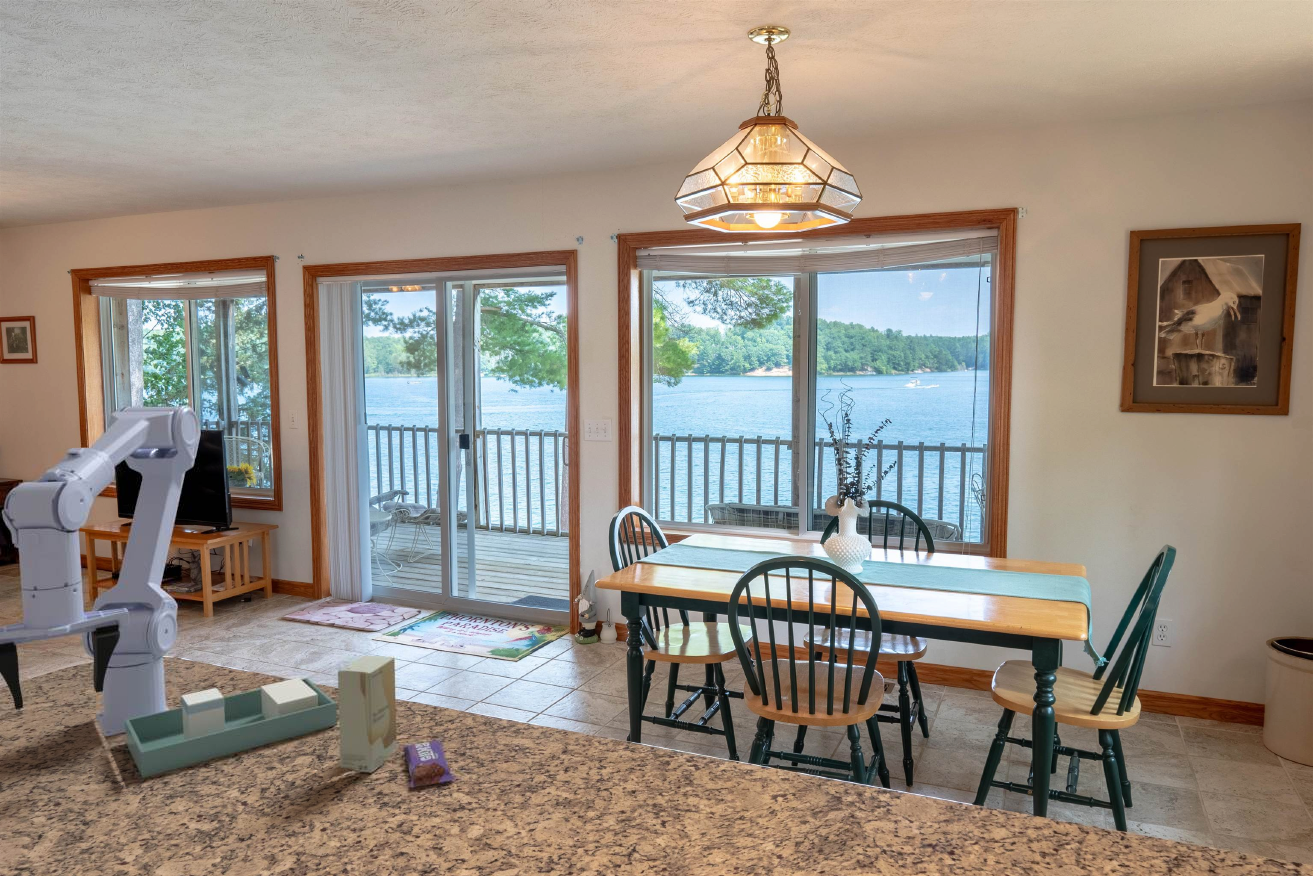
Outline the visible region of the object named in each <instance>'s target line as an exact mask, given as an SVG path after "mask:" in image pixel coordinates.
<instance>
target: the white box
mask: <svg viewBox="0 0 1313 876" xmlns="http://www.w3.org/2000/svg"><path fill="white" fill-rule="evenodd" d="M260 689H261V699H262V715H263V716H264V717H265V718H266V719H270V718H274V717H278V716H282V715H286V714H290V713H294V712H298V711H302V710H306V709H310V708H314V707H318V694H317V693H316V692H314V691H313V690H312V689H311V688H310V687H309V686H308V685H306V684H305V683H304V682H303V681H302V680H301V678H300V677H297V678H292V679H288V680H284V681H278V682H275V683H270V684H266V685H261V686H260Z"/></svg>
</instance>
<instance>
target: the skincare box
mask: <svg viewBox="0 0 1313 876" xmlns="http://www.w3.org/2000/svg"><path fill="white" fill-rule="evenodd" d="M395 662H396V661H395V657H393V656H379V655H377V656H376V655H363V656H361V657H359V658H357V659H355V660H354V661H352V662H350V663H348V664H347V665H346V666H343V668H340V669H339V670H337V681H338V682H337V685H338V687H337V689H338V692H337V693H338V720H339V721H338V722H339V725H338V726H339V727H338V728H339V729H338V730H339V731H338V732H339V757H340V758H339V760H340V761H339V764H340V766H339V767H340V768H342V769H350V771H351V772H358V773H359V772H360V773H373V772H375V771H376V770H377V769H379V767H381V766H382V765H383V764H384V763H386V762H387V761H388V760H389V759H388V758H389V757H390V756H391V755H392V754H393V753H394V752H395V751H396V750H397V748H398V747H397V746H398V745H397V744H398V741H397V739H398V737H397V707H396V706H397V704H396V701H397V700H396V699H397V698H396V672H395V670H396V668H395V667H396V666H395Z"/></svg>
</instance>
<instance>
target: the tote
mask: <svg viewBox="0 0 1313 876" xmlns="http://www.w3.org/2000/svg"><path fill="white" fill-rule="evenodd" d="M300 679H301V678H300ZM301 680H302V681H303V682H304V683H305V684H306V685H308V686H309V687H310V688H311V689H312V690H313V691H314V692H316V693H317V694H318V707H314V708H310V709H306V710H302V711H298V712H294V713H290V714H286V715H282V716H278V717H274V718H270V719H266V718H265V717H264V716H263V715H262V699H261V688H257V689H253V690H249V691H248V690H247V691H245V692H240V693H236V694H232V695H227V696H223V697H224V702H225V706H224V713H225V730H223V731H219V732H215V733H211V734H207V735H204V736H200V737H196V738H192V739H188V740H184V732H183V713H182V706H180V707H175V708H172V709H169V710H166V711H162V712H157V713H153V714H149V715H145V716H140V717H136V718H132V719H127V720H125V731H126V732H125V742H126V745H127V748H128V750H129V752H130V755H131V756H132V758H133V761H134V763H135V765H136V767H137V769H138V771H139V774H140V775H141V777H142V779H144V778H147V777H152V776H155V775H159V774H162V773H166V772H169V771H174V770H178V769H180V768H184V767H188V766H192V765H195V764H199V763H202V762H207V761H210V760H215V759H217V758H221V757H225V756H228V755H232V754H236V753H239V752H243V751H247V750H250V749H254V748H258V747H262V746H265V745H269V744H272V743H277V742H280V741H283V740H287V739H291V738H296V737H298V736H302V735H305V734H311V733H313V732H317V731H321V730H324V729H328V728H332V727H336V726H337V725H338V717H337V713H338V712H337V702H336V701H335V700H333V699H332V698H331V697H330V696H329V695H328V694H327V693H325V692H324V691H323V690H322V689H320V688H319V687H318V686H317V685H316V684H315V683H314V682H312V681H311V680H310V679H309V678H308V677H305V678H302V679H301Z"/></svg>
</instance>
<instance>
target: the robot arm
mask: <svg viewBox="0 0 1313 876" xmlns="http://www.w3.org/2000/svg"><path fill="white" fill-rule="evenodd" d="M201 431H202V430H201V427H200V422H199V418H198V416H197V414H196V412H195V411H194V410H193V408H192V407H191V406H190V405H186V404H185V405H180V406H130V405H122V406H119V407H118V408H117V409H116V410H115V411H114V412H111V414H110V415H109V419H108V429H106V430H105V432H103V434H102V435H101V436H100V437H99V438H98V439H97V440H96V441H95V442H94V443H93V444H92V445H91V447H72V448H70V449H69V450H67V451H66V455H65V456H64V457H63V458H62V459H61V460H59V462H57V463H56V464H55V465H53V466H52V467H51V468H48V469H46V471H45V472H44V473H43V474H42V475H41V476H40V477H39V478H37V480H35V481H25V482H22V483H19V485H18V486H16V487H14V488H12V489H11V490H10V491H9V493H8V494H7V495H6V498H5V501H4V508H3V509H2V510H1V514H2V518H3V521H4V523H5V526H6V527H7V528H8V530H9V531H10V534H11V541H12V544H14V545H13V546H14V548H17V549H18V555H19V569H20V570H19V571H20V573H19V574H20V587H21V598H22V600H21V601H22V613H23V615H22V616H23V621H21V622H17V623H12V624H8V625H4V626H0V675H1V676H2V678H3V680H4V682H5V683H6V685H7V687H8V689H9V691H10V693H11V695H12V699H13V702H14V703H13V704H14V709H15V710H20V709H23V708H24V702H23V701H24V700H23V695H22V694H23V693H22V689H21V685H20V670H19V669H20V668H19V655H18V648H17V645H20V644H26V643H33V642H38V641H45V640H50V639H56V638H61V637H62V638H63V637H67V636H73V635H79V634H80V635H81V644H82V646H83V648H84V651H85V652H86V654H87V655H88V657H89V656H90V657H91V658H93V670H92V671H93V679H92V680H93V681H92V682H93V689H94V691H95V693H101V694H102V696H101V697H102V709H103V710H102V711H99V712H97V713H95V718H96V719H97V722H98V725H99V727H100V730H101V732H102V734H103V737H104V738H106V737H109V736H114V735H118V734H124V733H126V731H125V720H127V719H132V718H136V717H140V716H145V715H149V714H153V713H157V712H162V711H166V710H170V709H169V707H168V706H167V705H166V704H167V703H166V685H165V668H164V667H165V666H164V665H165V664H164V655H166V654H167V653H168V652H169V651H170V650H171V648H172V647H173V645H174V644H175V641H176V639H177V634H178V622H177V616H178V603H177V602H176V600H175V598H173V597H172V596H171V595H170V594H169V593H167V591H165V590H164V589H163V588H161V586H162V581H163V576H164V571H165V568H166V564H167V558H168V554H169V548H170V544H171V540H172V536H173V532H174V531H173V530H174V526H175V521H176V517H177V511H178V507H179V502H180V497H181V494H182V488H183V484H184V479H185V475H186V472H187V471H188V470H189V471H190V469H192V468H194V465H195V459H196V457H197V452H198V448H199V443H200V438H201V434H202V433H201ZM123 461H125V462H126V464H127V466H128V468H130V469H132V470H134V471H136V472H138V473H140V475H141V476H142V479H141V480H142V481H141V485H140V489H139V491H138V497H137V500H136V505H135V510H134V513H133V518H132V522H131V526H130V530H129V533H128V537H127V538H128V539H127V542H126V543H127V544H126V547H125V549H124V550H125V551H124V554H123V560H122V564H121V568H120V572H119V577H118V580H117V583H116V584H115V585H114V586H112V587H111V588H110V589H108V590H106V591H104V592H103V593H102V594H100V595H99V596H97V597H96V598H95V600H94V604H93V607H92V610H91V611H84V609H85V608H84V598H83V597H84V595H83V578H82V577H83V576H82V564H81V550H80V549H81V548H80V547H81V546H80V534H79V533H80V532H79V530H80V529H81V527H84V525H86V522H87V520H88V517H89V514H90V509H91V507H92V506H93V505H94V504H93V503H94V502H95V501H94V500H95V498H97V496H99V494H101V493H102V492H103V491H104V490H105V489H106V488H107V487H108V486H110V484H111V483H112V482H113V481H114V479H115V477H116V469H115V467H116V466H117V465H118V466H119V464H121V462H123Z"/></svg>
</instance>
